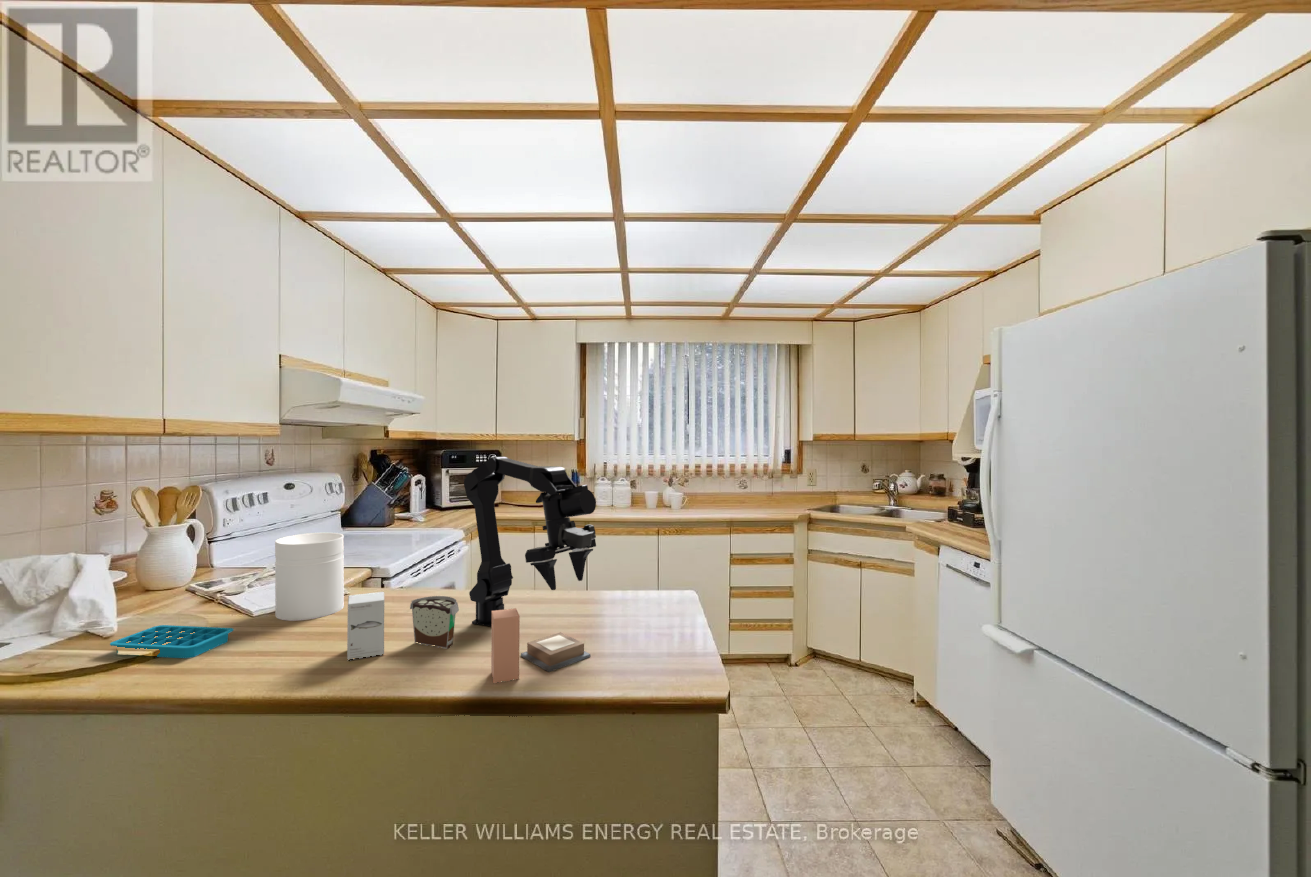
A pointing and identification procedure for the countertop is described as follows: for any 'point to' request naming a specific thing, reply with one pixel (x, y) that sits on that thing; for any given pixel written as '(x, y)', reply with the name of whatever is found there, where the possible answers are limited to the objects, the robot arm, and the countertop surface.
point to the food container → (434, 620)
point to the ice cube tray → (177, 640)
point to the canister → (309, 576)
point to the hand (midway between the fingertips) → (567, 585)
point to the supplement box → (365, 625)
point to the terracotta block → (505, 645)
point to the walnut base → (555, 651)
